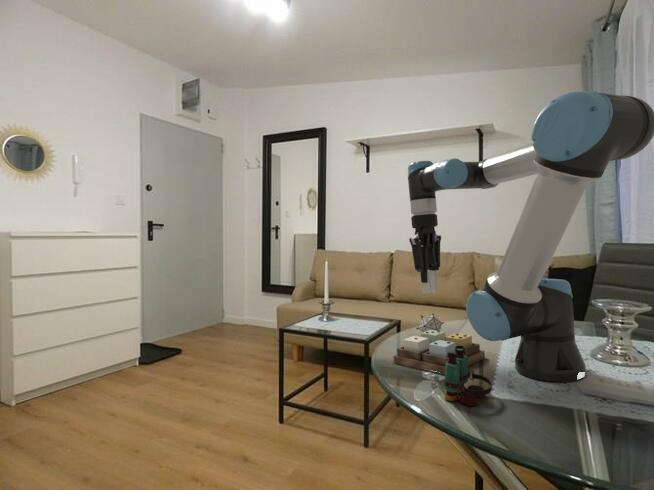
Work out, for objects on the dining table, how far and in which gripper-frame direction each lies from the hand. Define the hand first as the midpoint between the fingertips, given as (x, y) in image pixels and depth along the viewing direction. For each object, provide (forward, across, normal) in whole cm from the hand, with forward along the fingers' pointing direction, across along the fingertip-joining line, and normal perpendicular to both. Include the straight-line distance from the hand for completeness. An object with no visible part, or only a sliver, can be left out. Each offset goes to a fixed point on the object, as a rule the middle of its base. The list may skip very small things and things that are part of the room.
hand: (429, 292), depth 115 cm
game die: (+19, -16, -12) cm, 27 cm away
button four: (+15, 0, +9) cm, 17 cm away
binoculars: (+19, +22, +23) cm, 37 cm away
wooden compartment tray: (+18, +4, +4) cm, 19 cm away
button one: (+15, +8, 0) cm, 17 cm away
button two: (+15, +9, +9) cm, 19 cm away
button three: (+15, 0, 0) cm, 15 cm away
